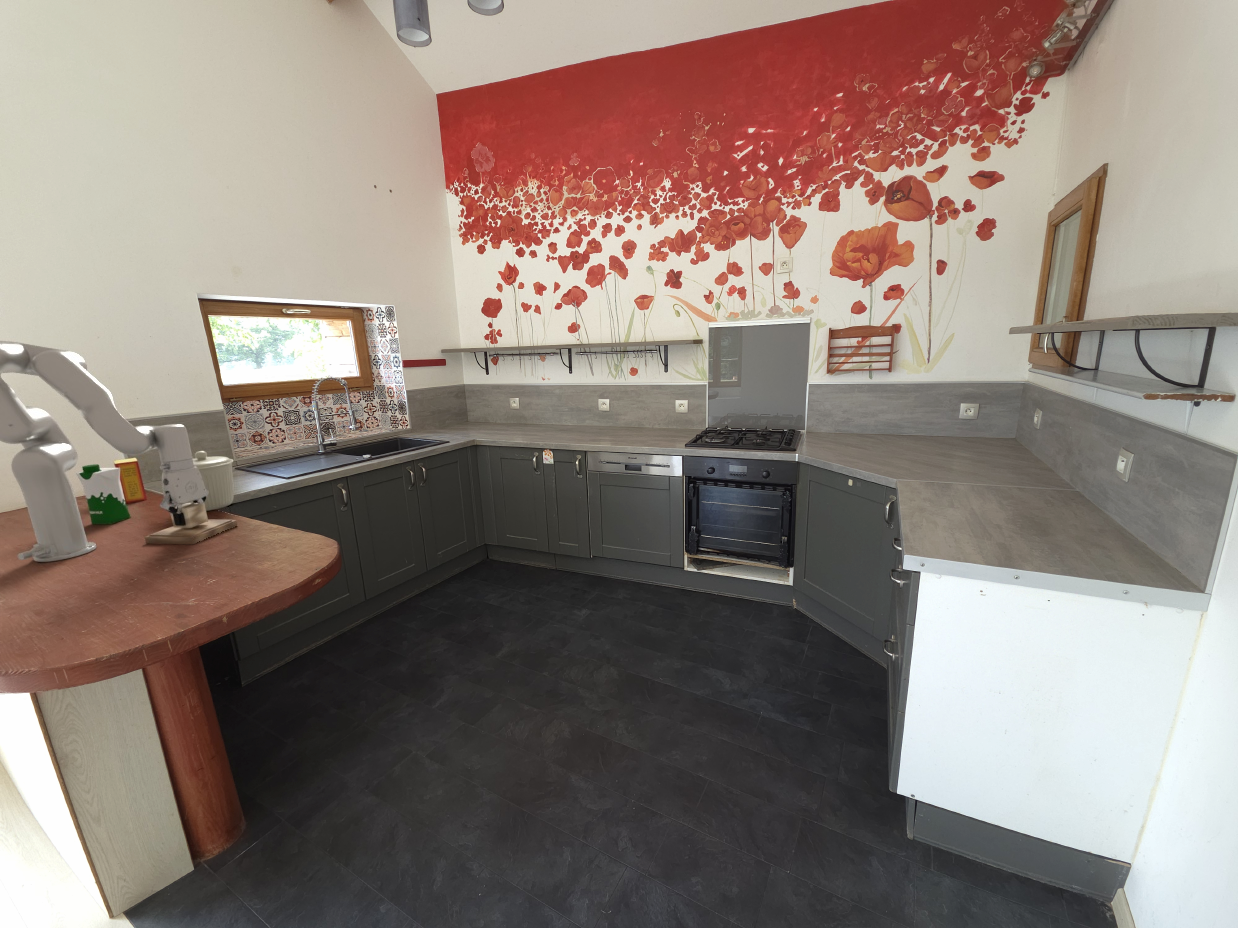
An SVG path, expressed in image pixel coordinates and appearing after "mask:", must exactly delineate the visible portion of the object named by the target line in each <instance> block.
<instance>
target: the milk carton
mask: <svg viewBox="0 0 1238 928" xmlns="http://www.w3.org/2000/svg"><path fill="white" fill-rule="evenodd" d="M81 468H82V471H80V472H76V476H77V478H78V479H79V482H80V483H81V485H82V487H83V491H84V495H85V500H86V503H87V506H88V511H89V516H90V522H91V525H113V524H115V523H118V522H122V521H124V520H128V519H131V518H132V516H131V514H130V512H129V509H128V505H127V503H126V502H125V498H124V494H123V490H122V486H121V482H120V468H115V467H100V465H99V464H96V463H95V464H88V465H83V466H82V467H81Z"/></svg>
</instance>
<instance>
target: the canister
mask: <svg viewBox="0 0 1238 928" xmlns="http://www.w3.org/2000/svg"><path fill="white" fill-rule="evenodd" d="M194 457H195V458H193V462H194V466H195V467H197V468H198V470H199V472H200V474H201V476H202V479H203V482H204V486H205V489H206V490H208V491H209V494H208V495H207V497H206V500H205V502H204V503H205V508H206V512H207V511H208V512H209V511H215V510H218V509H222V508H226V507H228V506H230V505H231V504H232V503H233V501H234V499H235V497H234V496H235V495H234V494H235V493H234V491H235V490H234V475H233V463H234V461H235V460H234V459H232V458H229V457H227V456H220V455H219V456H216V455H215V456H208V453H207V452H206V451H205V450H199V451H196V452H195V453H194ZM188 503H192V501H191V502H188Z"/></svg>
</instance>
